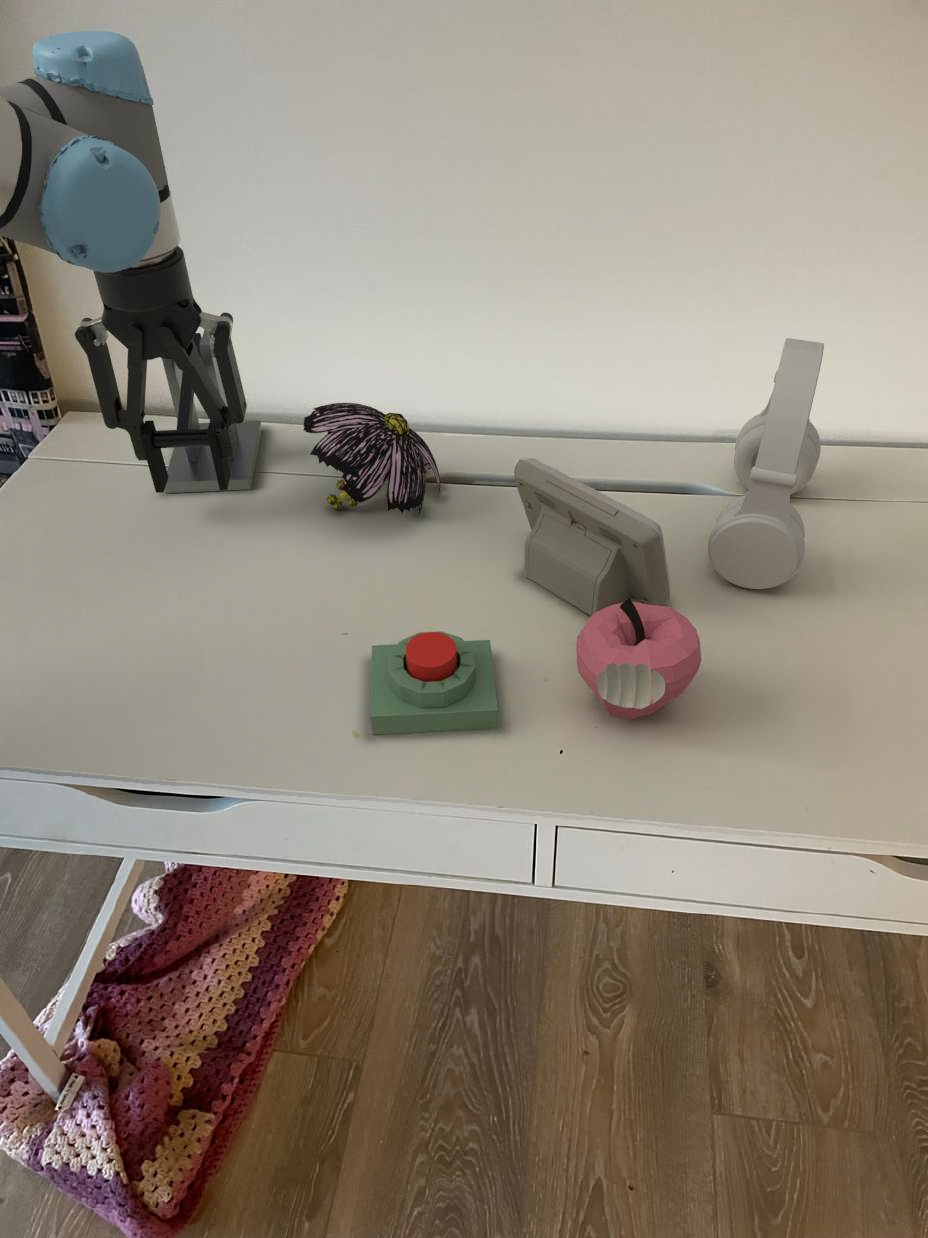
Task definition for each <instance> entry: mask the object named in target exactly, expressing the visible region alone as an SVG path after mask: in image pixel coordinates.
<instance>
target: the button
mask: <svg viewBox="0 0 928 1238" xmlns="http://www.w3.org/2000/svg"><path fill="white" fill-rule="evenodd" d="M425 632H426V633H422V634H419V635H417V636H415V637H413V638H412V639H411V640H410V641H409V643H408V644H407V647H406V659H407V668H408V671H409V673H410V674H411V675H412V676H413V677H414V678H416V679H418V680H421V681H424V682H434V681H442V680H444V679H446V678H448V677H449V676H451V675H452V674H453V673H454V671H455V669H456V666H457V651H456V644H455V642H454V641H453V640H452V639H451V638H450V637H449V636H447V635H445V634H443V633H439V632H436V631H425Z"/></svg>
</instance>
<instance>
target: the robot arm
mask: <svg viewBox="0 0 928 1238" xmlns="http://www.w3.org/2000/svg"><path fill="white" fill-rule="evenodd" d="M31 54H32V60H33V67H32V69H33V72H34V75H35V76H32V77H27V78H26V79H24V80H21V81H18V82H13V83H7V84H3V85H0V236H1V237H3V238H8V239H9V240H13V241H17V242H19V243H22V244H25V245H29V246H32V247H34V248H39V249H41V250H44V251H47V252H49V253H52V254H54V255H57V257H58V258H59V259H60V260H62V261H64V262H65V263H67V264H70V265H73V266H77V267H82V268H85V269H87V270H91V271H92V272H93V275H94V278H95V281H96V282H95V283H96V285H97V289H98V292H99V296H100V299H101V303H102V305H103V311H102V315H101V316H100V317H99V316H98V317H97V318H93V319H92V318H90V317H84V318H82V320H81V321H80V323H79V324H78V327H77V328H76V330H75V332H74V337H75V339H76V341H77V342H78V344H79V346H80V347H81V349H82V350H83V351H84V354H86V357H87V361H88V365H89V368H90V372H91V376H92V381H93V385H94V388H95V393H96V396H97V399H98V403H99V408H100V411H101V415H102V419H103V423H104V425H105V427H107V428H108V429H110V430H115V429H117V428H119V429H122V430H124V431H125V432H127V433H128V435H129V438H130V442H131V444H132V448H133V451H134V455H135V458H136V459H137V461H146V462H147V466H148V469H149V473H150V477H151V481H152V484H153V486H154V491H155V493H156V494H158V493H165V487H166V483H167V480H168V473H167V470H168V469H167V467H166V463H165V458H164V455H163V451H162V448H154V447H153V444H152V432H153V431H157V429H156V426H155V422H154V420H145V421H144V418H145V416H146V412H145V407H146V389H147V375H148V374H147V371H148V361H151V360H154V359H155V360H156V359H158V358H160V359H161V358H165V359H173V360H174V361H175V363H176V365H177V367H178V368H179V369H180V370H182V371H183V373H184V375H185V377H186V378H187V380H188V382H189V384H190V386H191V387H192V389H193V391H194V396H195V397H196V398H197V400H198V402H199V404H200V405H201V407H202V409H203V410H204V413H205V414H206V416H207V418H208V420H209V422H208V423H209V426H208V430H207V436H208V441H209V445H210V450H211V454H212V458H213V463H214V467H215V471H216V476H217V480H218V485H219V489H220V490H227V489H228V485H229V480H230V476H231V473H230V468H229V464H228V459H227V457H232V454H233V450H234V445H235V443H234V438H233V433H232V429H231V425H232V424H234V423H236V424H240V423H242V422H243V421H245V417H246V412H247V408H248V404H247V401H246V396H245V392H244V388H243V382H242V379H241V374H240V370H239V366H238V362H237V358H236V354H235V350H234V345H233V342H232V333H233V332H232V331H233V326H234V317H233V315H232V314H231V313H229V312H222V313H221V314H220V315H216V314H212V313H209V312H204V311H203V310H202V308H201V306H200V305H199V304H198V302H197V301H196V300H195V297H194V295H193V290H192V286H191V281H190V275H189V272H188V267H187V262H186V257H185V253H184V250H183V248H181V247H180V246H179V244H180V242H181V240H182V239H181V235H180V230H179V226H178V219H177V216H176V211H175V207H174V206H175V205H174V202H173V197H172V192H171V190H170V186H169V181H168V175H167V171H166V170H167V169H166V165H165V161H164V156H163V152H162V151H163V150H162V145H161V142H160V137H159V132H158V126H157V121H156V117H155V112H154V107H153V106H154V100H153V98H152V95H151V92H150V88H149V85H148V80H147V77H146V73H145V69H144V66H143V63H142V60H141V57H140V54H139V51H138V48H137V47H136V46H135V43H133V41H132V40H131V39H130V38H128V37H126V36H125V35H123V34H120V33H116V32H113V31H106V30H105V31H104V30H81V31H80V30H79V31H69V32H61V33H57V34H53V35H50V36H49V37H44V38H41V39H39V40H37V41H36V42H35V43H34V44H33V46H32V51H31ZM199 328H202V329H203V331H204V330H205V331H206V335H207V338H208V339H209V340H210V341H211V342H214V352H215V357H216V361H217V365H218V369H219V373H220V377H221V381H222V385H223V389H224V393H225V397H226V401H227V405H228V406H226V404H225V403H224V401H223V399H222V397H221V395H220V393H219V392H218V390H217V388H216V386H215V384H214V382H213V380H212V379H211V377H210V375H209V373H208V371H207V369H206V368H205V366H204V364H203V362H202V360H201V358H200V356H199V354H198V350H197V347H196V345H195V343H194V341H193V337H194V335H195V333H197V331H198V329H199ZM108 332H109V334H110V335H112V336H113V337H114V338H115V339H116V340H118V342H120V344H122V345H123V347H125V348H126V349H127V362H126V369H127V388H126V390H127V391H126V409H124V408H123V404H122V403H123V402H122V399H121V395H120V391H119V386H118V383H117V379H116V375H115V369H114V366H113V362H112V358H111V354H110V350H109V346H108V342H107V340H108V339H109V334H108ZM227 491H228V490H227Z"/></svg>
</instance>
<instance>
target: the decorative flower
mask: <svg viewBox="0 0 928 1238" xmlns="http://www.w3.org/2000/svg"><path fill="white" fill-rule="evenodd" d="M303 432H305V433H308V434H321V433H326V435H325V436H323V437H322V438H321V439H320V440H319V441H318V442H317V443H316V444H315V445H314V447H313V449H312V450H311V452H310V453H309V456H315V457H317V458H318V459H317V460H318V465H320V464H322V463H323V464H324V465H325V467H327V468H329V467H331V468H333V470H335V471H337V472H338V471H339V472H340V473H342V474H343V475H341V477H342V479H343V480H342V479H341V480H340V479H338V481H337V482H336V489H338V490H339V491H342V492H341V493H340V494H339V495H338V496H337V495H336V494H329V495H328V496H327V498H326V500H327V504H329V505H331V506H332V509H333V510H335V511H341V509H343V505H344V504H343V502H342V501H345V500H346V499H347V500H346V502H347V505H348V507H351V508H354V507H357V505H358V503H363V502H365V501H368V500H370V499H371V498H372V497H374V496H375V495H376V494H377V493H378V492H379V491H380V490H381V489H382V488H383V487H384V486H385V485H386V483H387V489H386V505H387V506H386V508H387V512H389V511H392V510H395V509H396V510H399V512H400V513H401V514H404V512H405V511H407V512H409V513H410V512H411V509H413V510H414V509H417V510H418V515H417V516H418V517H419V516H420V515H421V512H422V509H423V504H424V501H425V495H426V486H427V485H426V484H427V482H426V481H427V478H426V474H427V471H428V470H429V471H430V470H432V473H433V474H434V477H435V478H434V479H435V480H436V486H437V489H438V491H439V493H441V491H442V490H441V479H440V478H441V477H440V472H439V468H438V465H437V462H436V459H435V457H434V454H433V453H432V451H431V449H430V447H429V446H428V444H427V443H426V441H425V440H424V439H423V438H422V437H421V436H420V435H419V434H418V433H417V432H416V431H415V430H413V429H411V428H410V426H409V423H408V420H407V419H406V418H405V417H404V416H403V414H402V413H397V412H388V413H383V412H382V411H380V410H378V409H377V408H374V407H372V406H370V405H366V404H361V403H356V402H355V403H354V402H335V403H329V404H323V405H319V406H316V407H314V408H312V411H311V413H310V414H309V415H307V416H304V417H303Z"/></svg>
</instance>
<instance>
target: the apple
mask: <svg viewBox="0 0 928 1238" xmlns="http://www.w3.org/2000/svg"><path fill="white" fill-rule="evenodd" d="M575 647H576V666H577V672H578V673H579V675H580V677H581V678H582V679H583V681H584V682H585V684H586V685H587V686H588V687H589V688H590V689H591V691H592V692H593V693H594V695H595V696H596V697H597V698H598V700H599V701H600V703H601V704H602V705H603V707H604V708H605V710H606V712H607V713H608V715H610V716H612V717H613V716H614V717H616V718H620V719H624V720H629V721H631V720H633V719H636V718H640V717H642V716H649V715H653V714H654V713H656V712H657V711H659V710H660V709H661V708H662V707H665V705H667V704H669V703H671V702H673V701H675V700H676V699H677V698H678V697H680V696H681V695H682V694H684V692H685V691H686V690H687V689H688V687H689V686H690V684H691V682H693V680H694V678H695V677H696V675H697V673H698V672H699V670H700V666H701V664H702V652H701V651H702V650H701V641H700V637H699V634H698V631H697V629H696V627H695V626H694V625H693V623H692V622H691V621H690V620H689V618H688V617H687V616H686V615H684V614H682V613H680V612H679V611H676V610H675V609H673V608H672V607H670V606H666V605H658V606H657V605H648V604H646V603H644V602H637V601H632V599H631V598H630V597H626V598H625V599H624V601H621V602H619V603H618V604H615V605H611V606H608V607H606V608H604V609H602V610H600V611H598V612H596V613H594V614H593V615H592V616H590V617H589V619H588V620H587V622H586V623H585V625H584V626H583V628H582V629H581V631H580V632H579V634H578V635H577V637H576V643H575Z"/></svg>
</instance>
